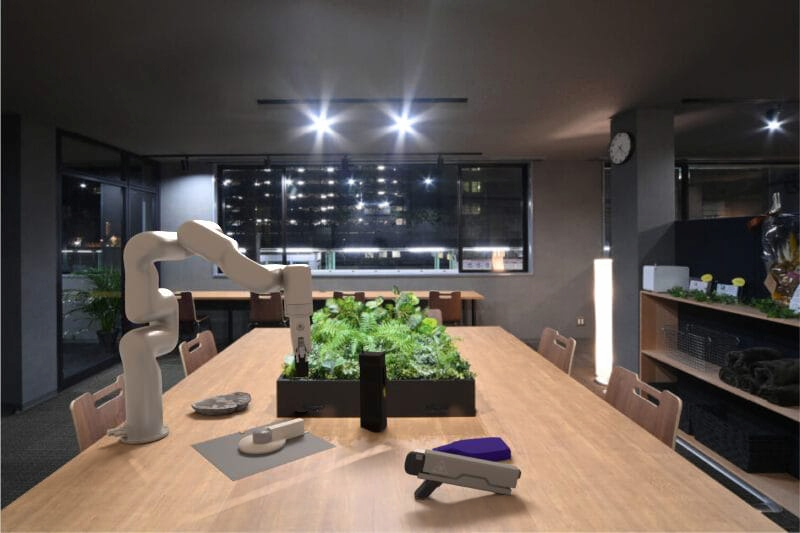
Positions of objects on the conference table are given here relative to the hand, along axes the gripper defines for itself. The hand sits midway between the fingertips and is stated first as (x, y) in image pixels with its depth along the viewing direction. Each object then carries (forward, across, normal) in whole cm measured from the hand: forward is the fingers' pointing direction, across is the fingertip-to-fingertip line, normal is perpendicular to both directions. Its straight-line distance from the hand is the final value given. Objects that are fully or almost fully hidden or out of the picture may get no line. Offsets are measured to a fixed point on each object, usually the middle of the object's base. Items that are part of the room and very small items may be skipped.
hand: (301, 372), depth 132 cm
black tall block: (+21, +7, -21) cm, 30 cm away
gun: (+21, -37, -31) cm, 53 cm away
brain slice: (+20, +40, +24) cm, 51 cm away
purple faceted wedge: (+22, -18, -38) cm, 48 cm away
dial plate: (+20, -1, +11) cm, 23 cm away
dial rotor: (+18, +1, +8) cm, 20 cm away
